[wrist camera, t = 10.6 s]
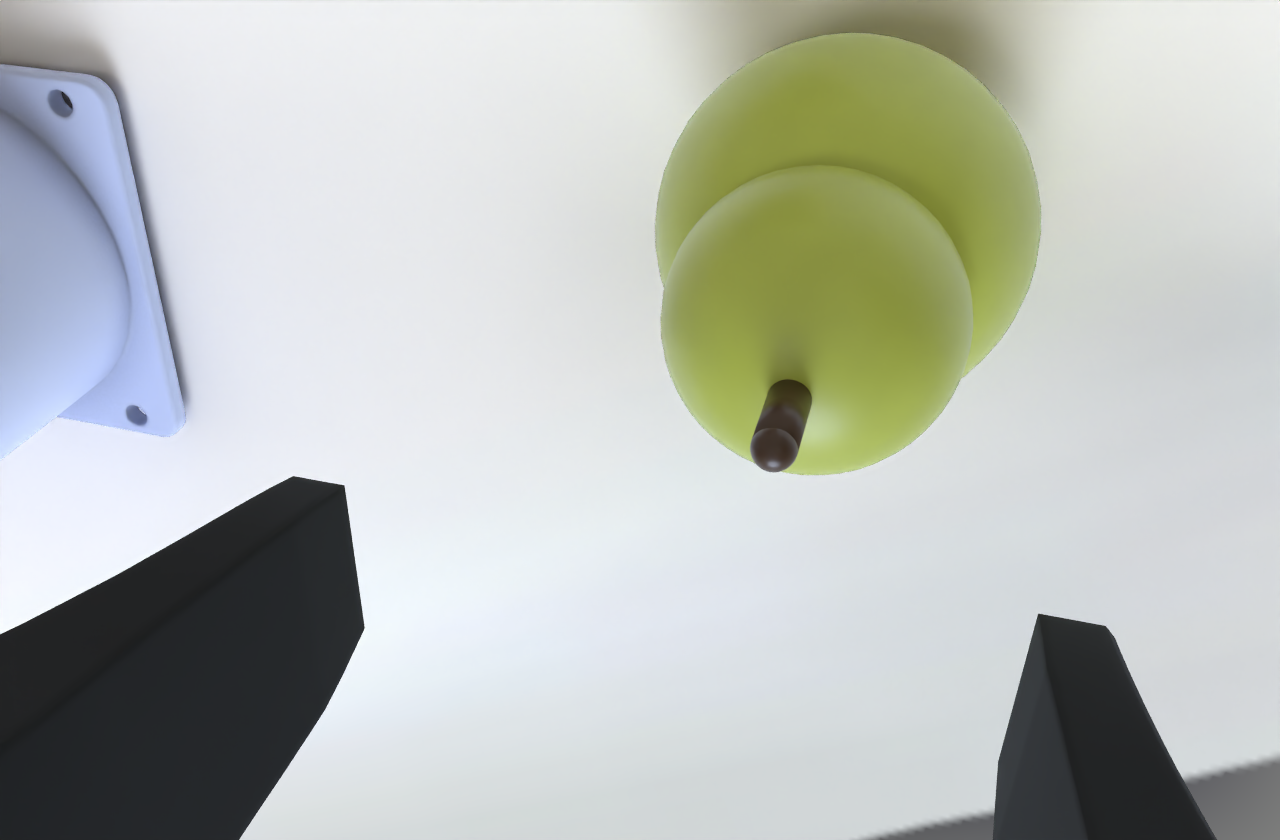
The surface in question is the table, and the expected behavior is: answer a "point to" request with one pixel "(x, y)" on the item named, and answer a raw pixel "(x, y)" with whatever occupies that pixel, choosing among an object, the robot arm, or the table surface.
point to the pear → (840, 249)
